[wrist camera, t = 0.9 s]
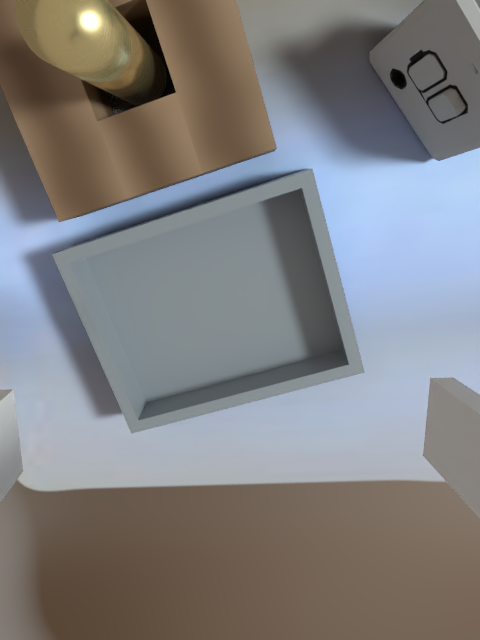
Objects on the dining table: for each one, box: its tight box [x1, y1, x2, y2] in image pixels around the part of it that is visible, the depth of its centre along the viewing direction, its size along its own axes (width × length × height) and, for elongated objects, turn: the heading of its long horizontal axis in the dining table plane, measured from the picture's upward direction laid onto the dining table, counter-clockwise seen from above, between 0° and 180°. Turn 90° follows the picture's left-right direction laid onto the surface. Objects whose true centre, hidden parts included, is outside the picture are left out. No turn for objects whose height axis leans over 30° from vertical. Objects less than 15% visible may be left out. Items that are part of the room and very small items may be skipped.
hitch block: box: [0, 0, 276, 222], centre depth 31 cm, size 16×16×5 cm
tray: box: [52, 169, 364, 433], centre depth 37 cm, size 20×16×4 cm
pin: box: [16, 0, 167, 106], centre depth 27 cm, size 4×4×14 cm
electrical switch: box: [369, 0, 480, 161], centre depth 29 cm, size 9×5×9 cm, turn 39°
